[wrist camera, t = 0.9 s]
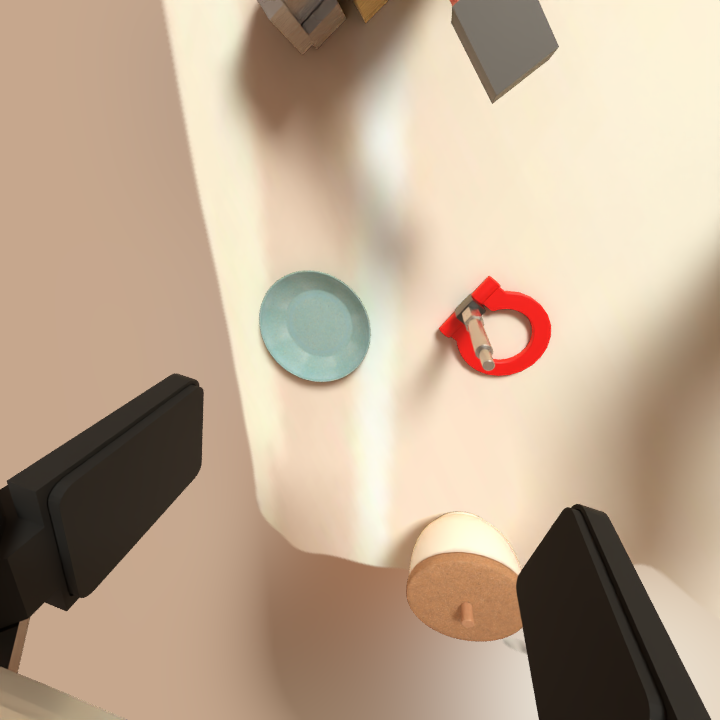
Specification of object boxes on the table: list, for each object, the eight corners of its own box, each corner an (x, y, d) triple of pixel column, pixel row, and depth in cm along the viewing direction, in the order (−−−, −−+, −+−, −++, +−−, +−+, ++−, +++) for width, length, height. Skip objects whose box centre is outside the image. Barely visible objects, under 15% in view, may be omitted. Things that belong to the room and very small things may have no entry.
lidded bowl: (495, 578, 48) (509, 676, 38) (402, 550, 49) (393, 638, 39) (530, 511, 42) (557, 606, 33) (425, 482, 44) (420, 565, 34)
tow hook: (567, 327, 34) (494, 265, 32) (640, 400, 22) (532, 309, 21) (499, 385, 37) (431, 331, 36) (531, 473, 26) (434, 400, 25)
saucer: (280, 374, 42) (271, 383, 40) (256, 272, 37) (246, 276, 35) (379, 371, 39) (376, 381, 37) (367, 261, 35) (362, 265, 33)
